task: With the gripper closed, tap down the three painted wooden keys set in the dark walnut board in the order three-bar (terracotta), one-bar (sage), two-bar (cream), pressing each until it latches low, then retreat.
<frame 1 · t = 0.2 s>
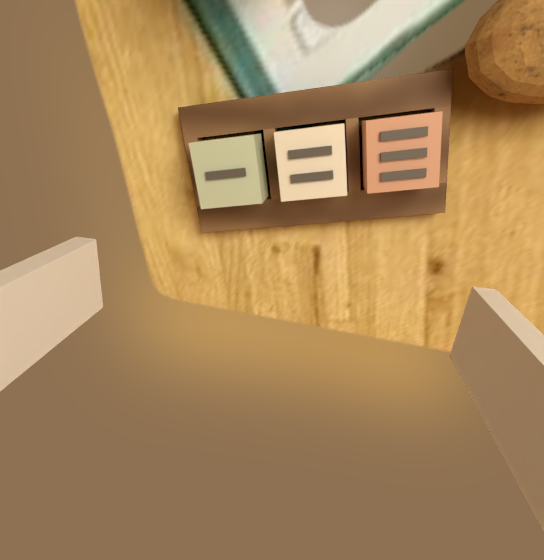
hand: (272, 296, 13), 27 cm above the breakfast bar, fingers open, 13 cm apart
tile 2: (311, 162, 34), point 4 cm above the breakfast bar, slide at 0.0 cm
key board: (313, 158, 37), on the breakfast bar
potato: (534, 46, 31), on the breakfast bar
tile 3: (399, 152, 32), point 4 cm above the breakfast bar, slide at 0.0 cm
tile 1: (230, 171, 35), point 4 cm above the breakfast bar, slide at 0.0 cm
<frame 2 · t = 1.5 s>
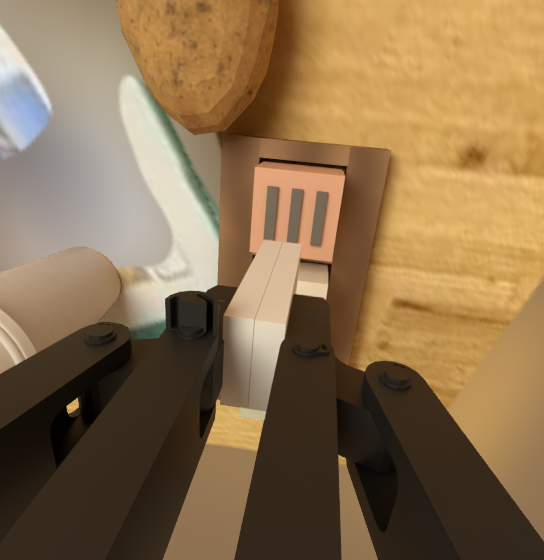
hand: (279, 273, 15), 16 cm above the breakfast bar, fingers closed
tile 2: (286, 304, 30), point 4 cm above the breakfast bar, slide at 0.0 cm
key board: (289, 285, 33), on the breakfast bar
potato: (219, 26, 26), on the breakfast bar
tile 3: (296, 210, 27), point 4 cm above the breakfast bar, slide at 0.0 cm
coffee cup: (89, 278, 36), on the breakfast bar
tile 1: (277, 380, 33), point 4 cm above the breakfast bar, slide at 0.0 cm
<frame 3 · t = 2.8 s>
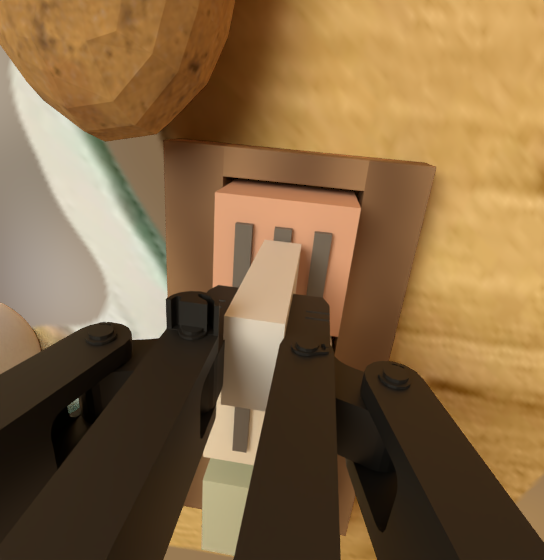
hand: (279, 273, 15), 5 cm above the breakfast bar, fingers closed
tile 2: (268, 396, 20), point 4 cm above the breakfast bar, slide at 0.0 cm
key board: (276, 356, 23), on the breakfast bar
tile 3: (284, 254, 18), point 3 cm above the breakfast bar, slide at 1.0 cm, touching gripper
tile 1: (258, 496, 23), point 4 cm above the breakfast bar, slide at 0.0 cm
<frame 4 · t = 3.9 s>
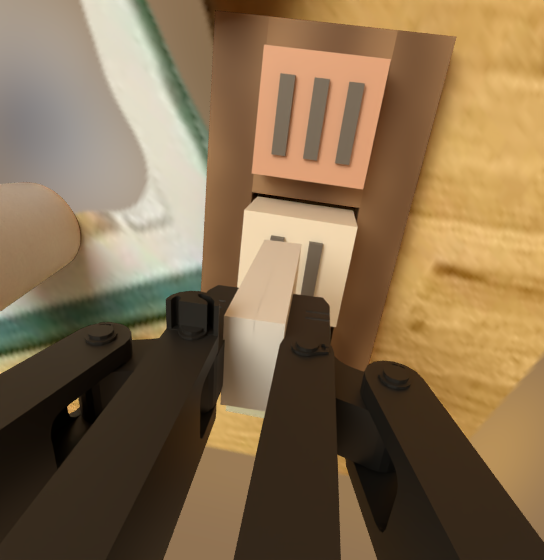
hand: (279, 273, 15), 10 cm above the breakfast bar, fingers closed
tile 2: (295, 259, 22), point 4 cm above the breakfast bar, slide at 0.0 cm
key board: (299, 241, 25), on the breakfast bar
tile 3: (317, 120, 20), point 3 cm above the breakfast bar, slide at 1.1 cm
coffee cup: (41, 226, 28), on the breakfast bar
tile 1: (278, 365, 25), point 4 cm above the breakfast bar, slide at 0.0 cm
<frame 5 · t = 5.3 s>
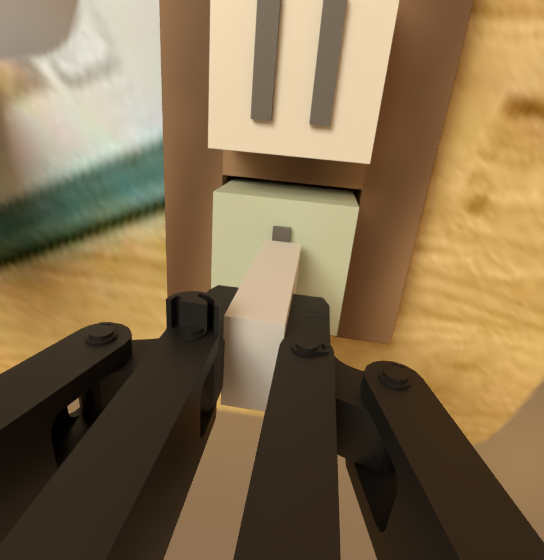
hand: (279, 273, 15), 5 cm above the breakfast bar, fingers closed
tile 2: (299, 70, 14), point 4 cm above the breakfast bar, slide at 0.0 cm
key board: (304, 80, 17), on the breakfast bar
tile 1: (282, 253, 18), point 3 cm above the breakfast bar, slide at 0.9 cm, touching gripper
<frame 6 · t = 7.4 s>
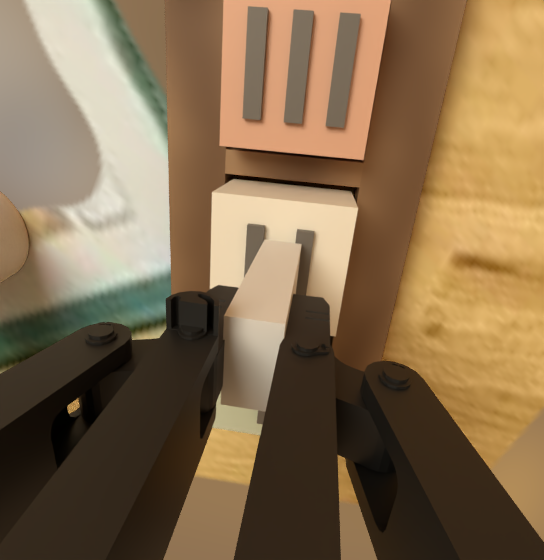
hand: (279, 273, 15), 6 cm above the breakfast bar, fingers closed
tile 2: (281, 254, 18), point 4 cm above the breakfast bar, slide at 0.1 cm, touching gripper
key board: (288, 234, 21), on the breakfast bar
tile 3: (301, 76, 16), point 3 cm above the breakfast bar, slide at 1.1 cm
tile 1: (271, 372, 21), point 3 cm above the breakfast bar, slide at 1.1 cm
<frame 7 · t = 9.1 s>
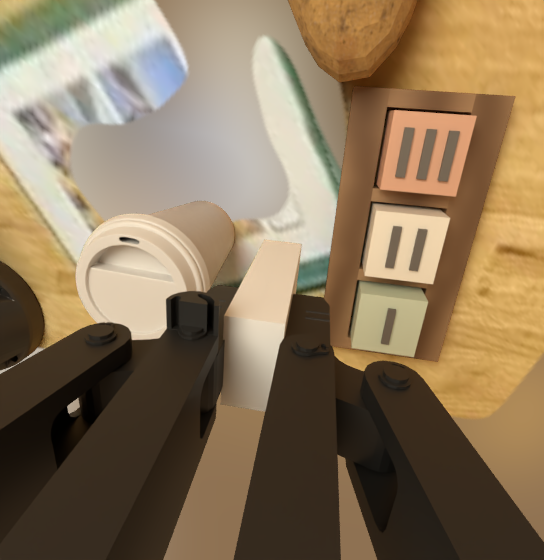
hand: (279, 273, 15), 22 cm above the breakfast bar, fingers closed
tile 2: (401, 242, 33), point 3 cm above the breakfast bar, slide at 1.1 cm
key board: (397, 234, 35), on the breakfast bar
tile 3: (421, 152, 30), point 3 cm above the breakfast bar, slide at 1.1 cm
coffee cup: (204, 231, 39), on the breakfast bar
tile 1: (385, 316, 36), point 3 cm above the breakfast bar, slide at 1.1 cm
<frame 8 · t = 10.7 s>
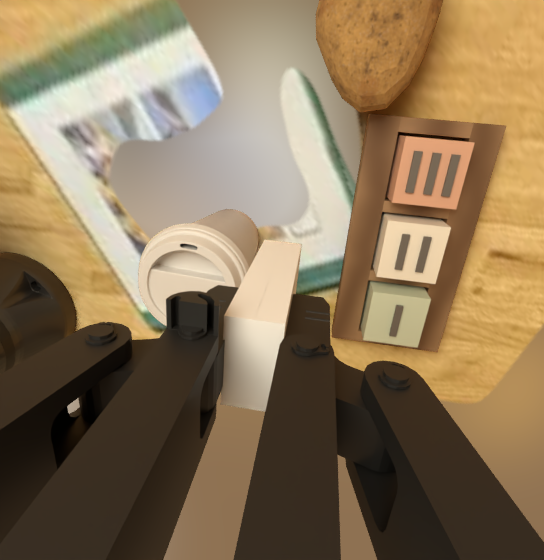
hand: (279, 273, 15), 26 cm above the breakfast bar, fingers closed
tile 2: (408, 247, 38), point 3 cm above the breakfast bar, slide at 1.1 cm
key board: (403, 240, 41), on the breakfast bar
potato: (370, 29, 34), on the breakfast bar
tile 3: (426, 171, 35), point 3 cm above the breakfast bar, slide at 1.1 cm
coffee cup: (231, 236, 43), on the breakfast bar
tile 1: (393, 312, 41), point 3 cm above the breakfast bar, slide at 1.1 cm
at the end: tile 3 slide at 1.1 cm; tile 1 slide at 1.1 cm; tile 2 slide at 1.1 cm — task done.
